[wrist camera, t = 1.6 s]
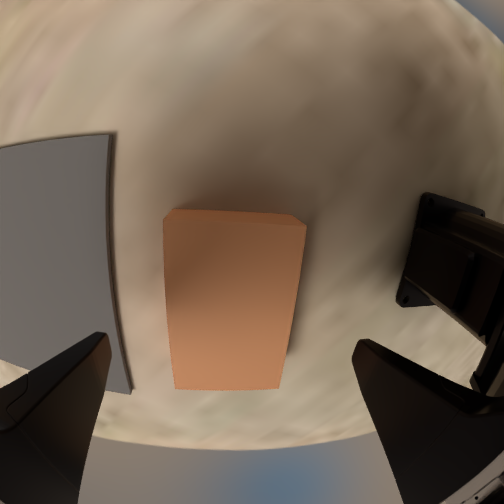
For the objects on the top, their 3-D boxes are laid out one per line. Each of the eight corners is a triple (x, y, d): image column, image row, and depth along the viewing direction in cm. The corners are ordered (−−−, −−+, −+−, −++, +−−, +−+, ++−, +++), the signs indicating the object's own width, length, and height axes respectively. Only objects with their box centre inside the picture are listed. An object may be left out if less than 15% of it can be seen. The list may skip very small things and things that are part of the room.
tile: (289, 213, 12) (306, 226, 10) (269, 357, 14) (278, 388, 12) (174, 207, 11) (163, 219, 9) (179, 356, 14) (175, 388, 11)
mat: (112, 135, 9) (108, 134, 9) (132, 390, 14) (130, 394, 13) (-40, 159, 8) (-44, 160, 7) (-3, 354, 12) (-5, 356, 12)
